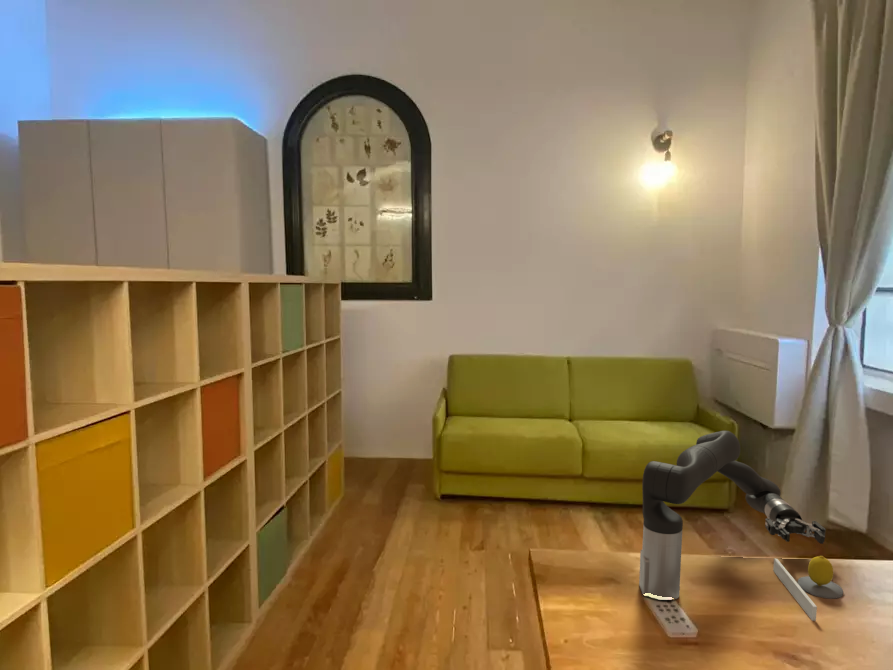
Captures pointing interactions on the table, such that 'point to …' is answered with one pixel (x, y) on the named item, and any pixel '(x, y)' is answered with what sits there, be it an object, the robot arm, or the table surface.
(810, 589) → the slate mat
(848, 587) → the table surface
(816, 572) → the lemon
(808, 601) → the low wall
